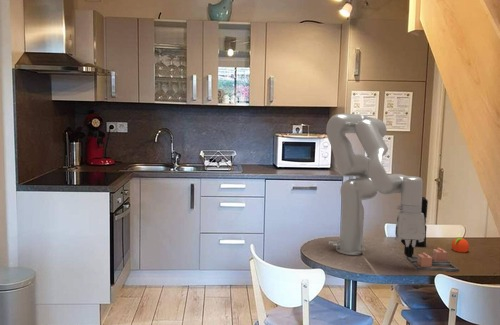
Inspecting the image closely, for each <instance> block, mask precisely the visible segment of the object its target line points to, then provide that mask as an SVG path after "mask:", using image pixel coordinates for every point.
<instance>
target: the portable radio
mask: <svg viewBox="0 0 500 325" xmlns="http://www.w3.org/2000/svg"><path fill="white" fill-rule="evenodd" d="M428 203H429V201H428V199H427V198H426V197H425V196H422V208H421V213H423V214H424V220H425V238H424V241H423V242H418V243H417V244H416V245H415V247H414V248H427V232H428V231H427V225H426V223H427V217H428Z"/></svg>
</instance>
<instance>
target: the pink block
mask: <svg viewBox="0 0 500 325" xmlns="http://www.w3.org/2000/svg"><path fill="white" fill-rule="evenodd" d="M417 257H418V259H416V261H417V264H418V265H419V266H420V267H433V266H432V261H433V260H432V257H433V256H430V255H429V254H427V253H426V252H422V253H420V254H419V253H418V254H417Z"/></svg>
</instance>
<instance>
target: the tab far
mask: <svg viewBox="0 0 500 325" xmlns="http://www.w3.org/2000/svg"><path fill="white" fill-rule="evenodd" d="M431 257H432V261H444V262H447V260H448V252H447V251H446V250H445V249H443V248H441V247H437V249H435V248H433V249H432V256H431Z"/></svg>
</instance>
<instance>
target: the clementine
mask: <svg viewBox="0 0 500 325" xmlns="http://www.w3.org/2000/svg"><path fill="white" fill-rule="evenodd" d="M451 248H452V250H453V251H455V252H458V253H461V254H462V253H463V254H464V253H467V252H468V251H469V248H470V244H469V241H468V240H466V239H465V238H463V237H457V238H455V239H453V241H452V242H451Z"/></svg>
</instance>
